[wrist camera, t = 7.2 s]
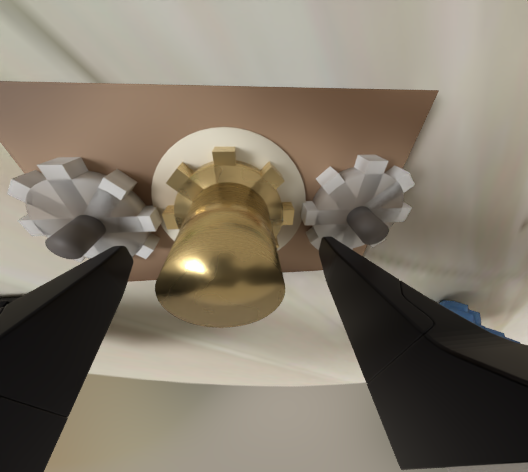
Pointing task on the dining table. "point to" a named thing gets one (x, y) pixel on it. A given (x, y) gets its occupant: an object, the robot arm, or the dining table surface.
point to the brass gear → (224, 242)
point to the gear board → (206, 160)
